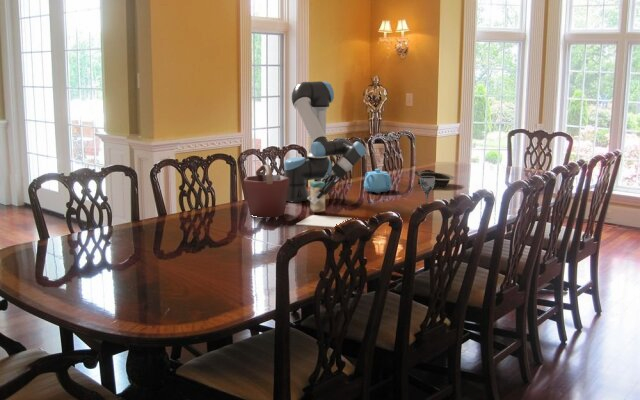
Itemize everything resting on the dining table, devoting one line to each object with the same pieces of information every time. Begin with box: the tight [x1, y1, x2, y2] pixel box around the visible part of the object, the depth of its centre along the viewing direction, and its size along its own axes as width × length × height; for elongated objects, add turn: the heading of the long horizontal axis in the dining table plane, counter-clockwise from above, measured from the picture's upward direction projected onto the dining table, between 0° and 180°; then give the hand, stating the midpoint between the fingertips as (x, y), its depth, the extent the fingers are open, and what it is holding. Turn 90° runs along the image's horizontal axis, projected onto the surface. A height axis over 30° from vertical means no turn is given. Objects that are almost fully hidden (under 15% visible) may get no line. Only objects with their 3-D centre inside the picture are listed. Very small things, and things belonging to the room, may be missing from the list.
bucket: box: [243, 164, 290, 218], centre depth 339 cm, size 24×22×25 cm
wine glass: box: [419, 176, 435, 203], centre depth 360 cm, size 8×8×15 cm
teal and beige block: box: [309, 180, 326, 212], centre depth 343 cm, size 6×6×14 cm
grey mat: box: [295, 214, 359, 228], centre depth 324 cm, size 24×20×1 cm
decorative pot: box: [363, 168, 393, 195], centre depth 401 cm, size 16×16×14 cm
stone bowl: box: [414, 169, 457, 189], centre depth 418 cm, size 25×25×9 cm
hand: (310, 201), depth 343 cm, fingers closed on teal and beige block, 6 cm apart
